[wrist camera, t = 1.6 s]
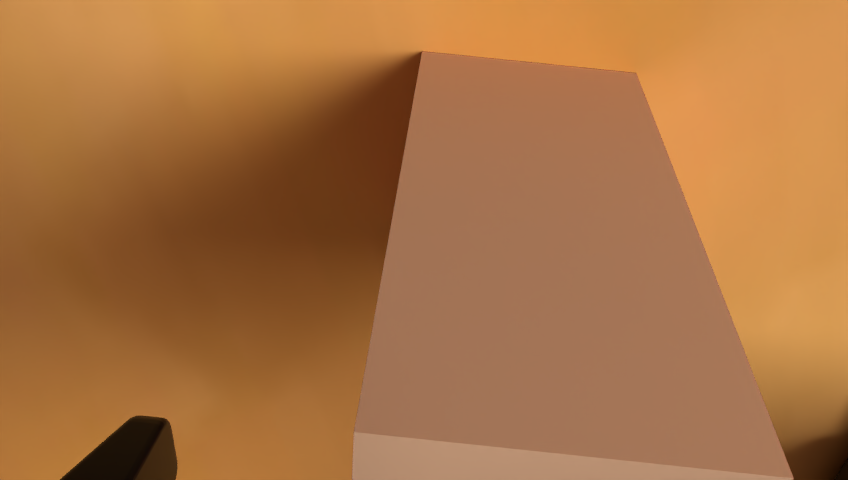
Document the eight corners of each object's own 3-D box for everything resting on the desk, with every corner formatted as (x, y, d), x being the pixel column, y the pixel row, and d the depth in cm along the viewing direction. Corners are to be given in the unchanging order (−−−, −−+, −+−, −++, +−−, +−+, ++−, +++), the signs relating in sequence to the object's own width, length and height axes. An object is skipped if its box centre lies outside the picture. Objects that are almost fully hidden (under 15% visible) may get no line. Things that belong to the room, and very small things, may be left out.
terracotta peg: (636, 73, 14) (793, 479, 7) (591, 245, 17) (673, 683, 9) (422, 51, 14) (354, 432, 7) (407, 226, 17) (345, 648, 9)
